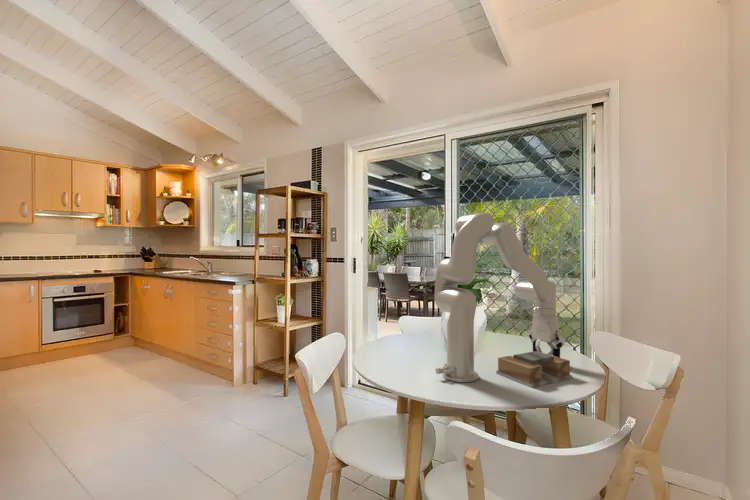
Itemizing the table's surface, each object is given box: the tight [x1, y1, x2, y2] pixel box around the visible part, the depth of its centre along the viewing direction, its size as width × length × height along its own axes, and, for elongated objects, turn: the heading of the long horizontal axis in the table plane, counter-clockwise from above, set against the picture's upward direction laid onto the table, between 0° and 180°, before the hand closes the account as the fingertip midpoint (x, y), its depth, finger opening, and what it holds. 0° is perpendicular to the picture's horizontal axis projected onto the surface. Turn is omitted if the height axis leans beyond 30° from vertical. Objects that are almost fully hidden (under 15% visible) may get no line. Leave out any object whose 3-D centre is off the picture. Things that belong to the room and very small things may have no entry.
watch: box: [535, 339, 557, 356], centre depth 148 cm, size 6×8×11 cm
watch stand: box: [495, 351, 573, 389], centre depth 133 cm, size 20×16×7 cm
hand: (546, 355), depth 148 cm, fingers open, 9 cm apart
